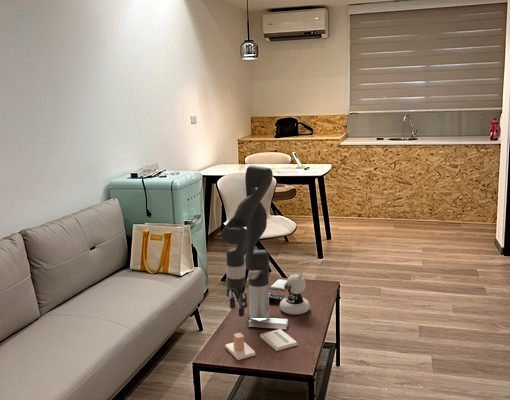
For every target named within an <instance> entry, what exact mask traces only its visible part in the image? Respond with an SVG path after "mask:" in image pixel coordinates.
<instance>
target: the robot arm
mask: <svg viewBox="0 0 510 400" xmlns="http://www.w3.org/2000/svg"><path fill="white" fill-rule="evenodd" d="M244 176H245V178H244V180H245V193H246V194H245V195H246V197H245V198H244V199H243V200H242V201H241V202H240V203H239V204H238V206H237V207H236V210H235V212H234V215H233V216H232V218H230V220H229V221H227V223H226V224H225V226H224V227H223V229H222V230H221V233H220V238H221V240H222V242H223V243H224V244H228V245H236V247H235V248H231V249H228V250H227V251H226V270H225V271H226V273H225V274H226V297H227V298H228V300H229V309H230V310H233V309H235V308H236V304H237V308H238V317H239V318H242V317H244V316H245V309H246V308H248V304H249V310H248V312H249V319H250V318H268V319H269V318H270V291H269V290H270V284H269V282H270V281H269V273H270V271H269V269H270V268H269V266H270V256H269V251H268V250H266V249H256V250H255V246H256V244H257V243H258V241H259V239H261V237H262V236H263V234H264V233H265V231H266V228H267V227H268V226H267V223H268V222H267V221H268V214H267V210H266V208H265V206H264V204H263V203H262V202H261V201H262V200H263V198H264V196H265V195H266V193H267V192H268V191H269V190H270V189H269V188H271V187H270V186H271V184H272V182H273V176H274V175H273V170H272V168H269V167H266V166H259V165H252V164H251V165H248V166H247V168H246V170H245V175H244ZM246 269H247V271H253V272H254V271H258V272H256V273H254V274H252V275H251V276H250V277H248V289H249V290H248V291H249V292H248V294H247V293H246V292H245V293H244V291H243V288H244V287H246ZM247 295H249V297H247ZM247 299H248V300H247Z"/></svg>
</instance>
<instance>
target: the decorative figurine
mask: <svg viewBox="0 0 510 400" xmlns="http://www.w3.org/2000/svg"><path fill="white" fill-rule="evenodd" d="M287 274H288V278H287V279H286V280H287V282H286V283H285V284H286V285H285V284H284V288H285V290H287V291H288V295H287V297H285V298H283V299H282V300H281V301H280V303H279V307H280V311H282V312H283V313H285V314H288V315H294V316H295V315H303V314H305V313H307V312H308V311H309V310H310V306H311V305H310V301H309V300H308V299H306V298H304V297H303V296H302V293H303V292H304V291H305V289H306V280H305V278H304V277H303V276H302V275H303V273H300V274H297V273H296V274H292V273H290V272H289V271H287Z"/></svg>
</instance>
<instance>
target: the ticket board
mask: <svg viewBox="0 0 510 400" xmlns="http://www.w3.org/2000/svg"><path fill="white" fill-rule="evenodd" d="M259 334H260V333H259ZM260 338H261V339H262V340H263V341H264V342H266V344H267V345H269V346H270V347H271V348H272V349H274V351H276V352H277V351H280V350H284V349H289V348H292V347H295V346H297V345H298V342H297V341H296V340H295V339H294V338H292V337H291V335H289V334H288V333H286V332H285V331H284V330H283V329H281V328H279V329H275V330H272V331H267V332H264V333H261V334H260Z"/></svg>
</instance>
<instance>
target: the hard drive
mask: <svg viewBox="0 0 510 400" xmlns="http://www.w3.org/2000/svg"><path fill="white" fill-rule="evenodd" d="M286 282H287V279H281V278H279V279H277V280H276V281H275V282H274V283H273V284H272V285H271V286H269V289H271V290H278V291H285V290H286V289H285V288H284V284H285V283H286ZM285 285H286V284H285Z"/></svg>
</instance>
